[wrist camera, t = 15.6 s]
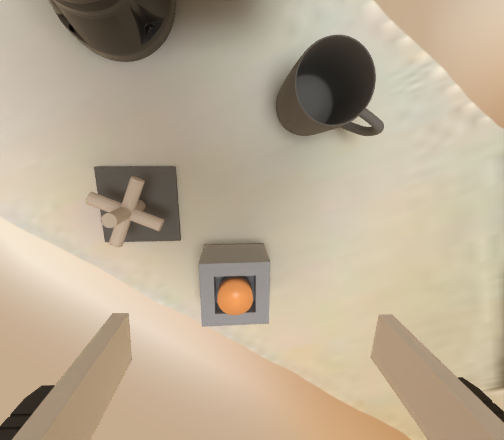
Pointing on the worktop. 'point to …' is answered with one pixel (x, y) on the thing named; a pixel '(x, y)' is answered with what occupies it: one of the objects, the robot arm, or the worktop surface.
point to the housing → (234, 264)
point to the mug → (329, 89)
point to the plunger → (235, 295)
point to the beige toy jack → (124, 212)
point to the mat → (144, 199)
